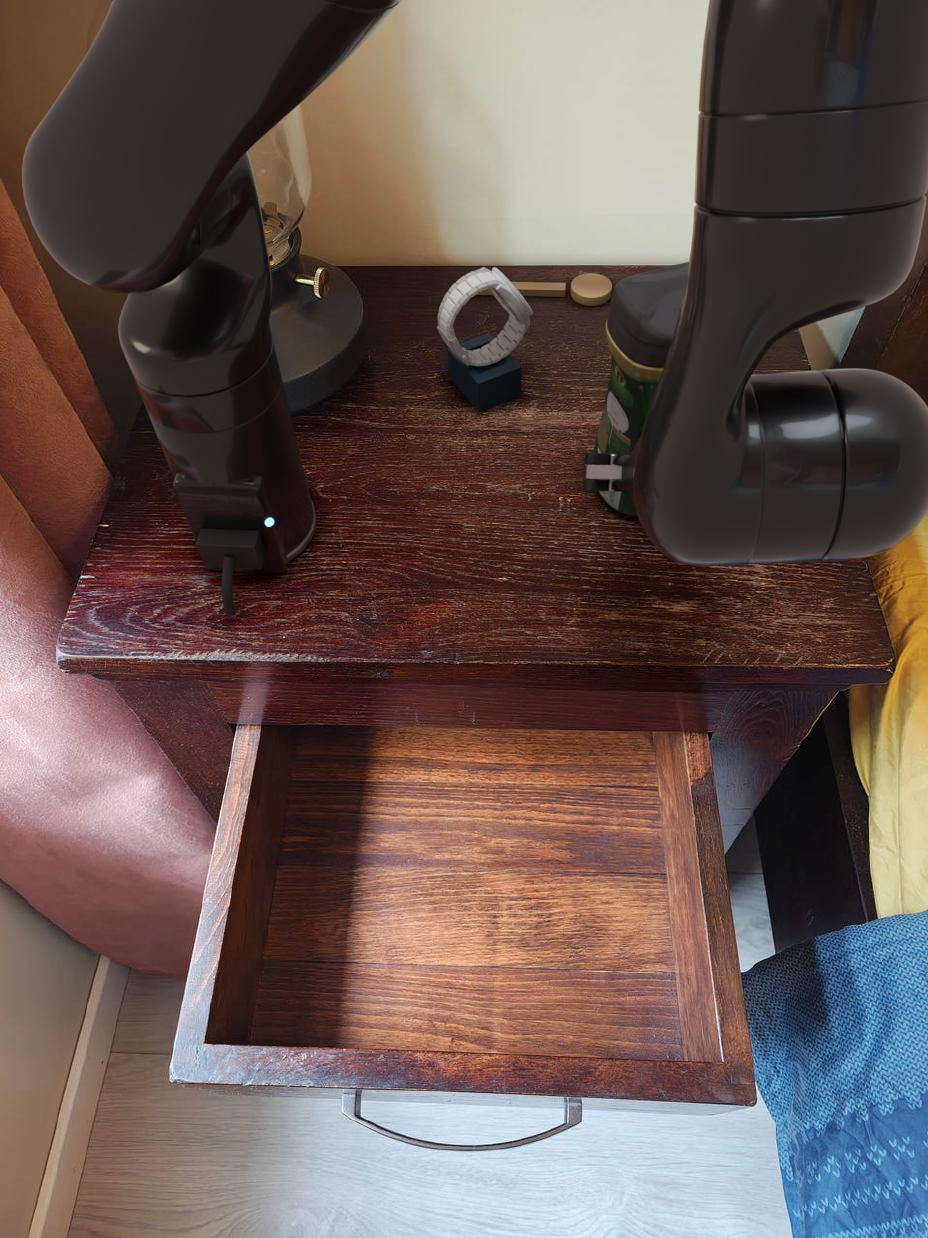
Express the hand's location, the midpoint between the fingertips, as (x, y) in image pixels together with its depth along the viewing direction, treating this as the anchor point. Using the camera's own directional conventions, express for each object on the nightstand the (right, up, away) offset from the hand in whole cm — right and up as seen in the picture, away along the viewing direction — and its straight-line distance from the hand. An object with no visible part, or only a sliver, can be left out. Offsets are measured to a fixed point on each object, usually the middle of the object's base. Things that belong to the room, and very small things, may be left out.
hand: (662, 476), depth 67 cm
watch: (-13, +10, +15) cm, 22 cm away
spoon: (-7, +22, +23) cm, 32 cm away
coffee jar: (0, +1, +7) cm, 7 cm away
